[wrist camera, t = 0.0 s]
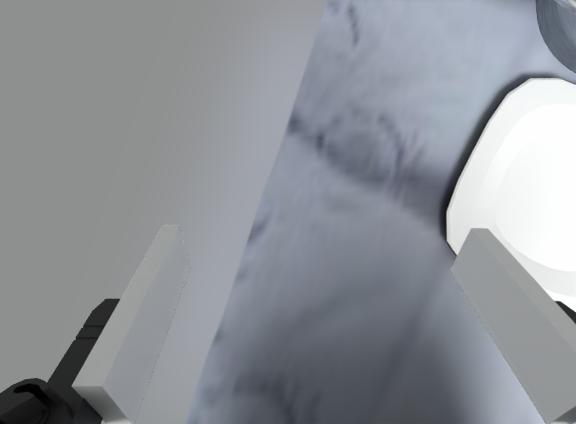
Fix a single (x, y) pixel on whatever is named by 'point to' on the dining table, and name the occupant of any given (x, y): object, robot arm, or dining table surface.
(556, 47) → the pot
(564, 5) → the lid
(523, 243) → the plate
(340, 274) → the dining table surface
